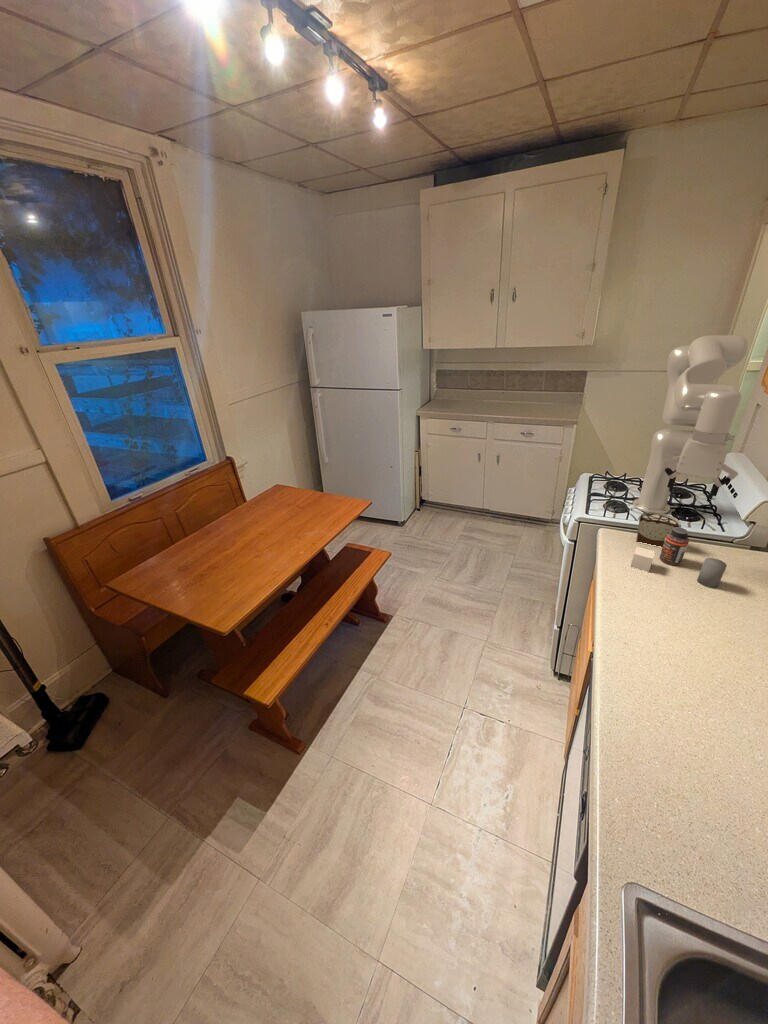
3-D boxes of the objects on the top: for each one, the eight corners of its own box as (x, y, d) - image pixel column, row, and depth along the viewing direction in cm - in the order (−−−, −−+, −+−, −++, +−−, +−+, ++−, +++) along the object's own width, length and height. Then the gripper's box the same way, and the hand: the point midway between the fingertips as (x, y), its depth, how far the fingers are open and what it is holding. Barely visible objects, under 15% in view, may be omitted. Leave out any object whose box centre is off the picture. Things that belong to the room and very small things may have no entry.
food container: (673, 542, 138) (682, 516, 134) (673, 550, 134) (682, 524, 129) (632, 533, 144) (639, 508, 140) (631, 541, 140) (638, 515, 135)
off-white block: (632, 559, 130) (636, 546, 128) (650, 564, 127) (655, 551, 125) (630, 567, 127) (634, 553, 124) (648, 572, 124) (652, 558, 122)
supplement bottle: (654, 558, 130) (664, 528, 125) (666, 553, 132) (676, 523, 127) (673, 568, 125) (684, 536, 120) (685, 562, 127) (696, 531, 122)
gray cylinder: (697, 575, 122) (705, 556, 118) (718, 581, 119) (726, 561, 116) (696, 584, 118) (704, 564, 115) (718, 590, 115) (726, 569, 112)
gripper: (750, 438, 108) (727, 496, 116) (673, 429, 118) (657, 483, 125) (750, 445, 103) (727, 505, 111) (670, 435, 113) (653, 491, 120)
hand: (690, 493), depth 118 cm, fingers open, 9 cm apart
